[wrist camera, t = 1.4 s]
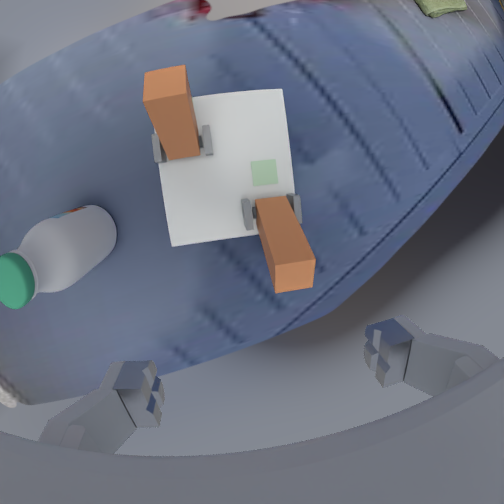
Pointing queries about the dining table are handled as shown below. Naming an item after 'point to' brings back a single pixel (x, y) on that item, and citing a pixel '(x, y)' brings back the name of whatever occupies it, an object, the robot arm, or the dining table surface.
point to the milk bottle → (56, 254)
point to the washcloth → (440, 6)
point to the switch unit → (228, 167)
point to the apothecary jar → (502, 3)
